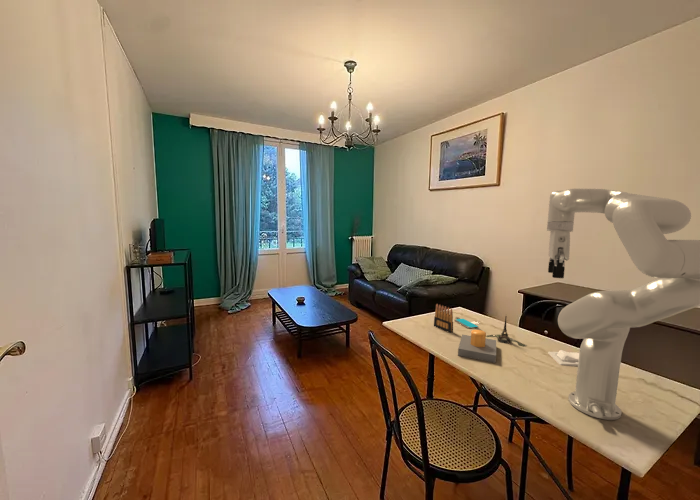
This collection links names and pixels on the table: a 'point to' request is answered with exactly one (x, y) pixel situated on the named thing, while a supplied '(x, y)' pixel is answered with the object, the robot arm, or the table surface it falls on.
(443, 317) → the ammunition clip
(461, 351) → the box
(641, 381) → the table surface
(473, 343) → the orange wooden cylinder
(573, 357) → the light switch
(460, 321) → the cyan flat board
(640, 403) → the table surface
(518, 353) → the table surface
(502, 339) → the eiffel tower figurine
